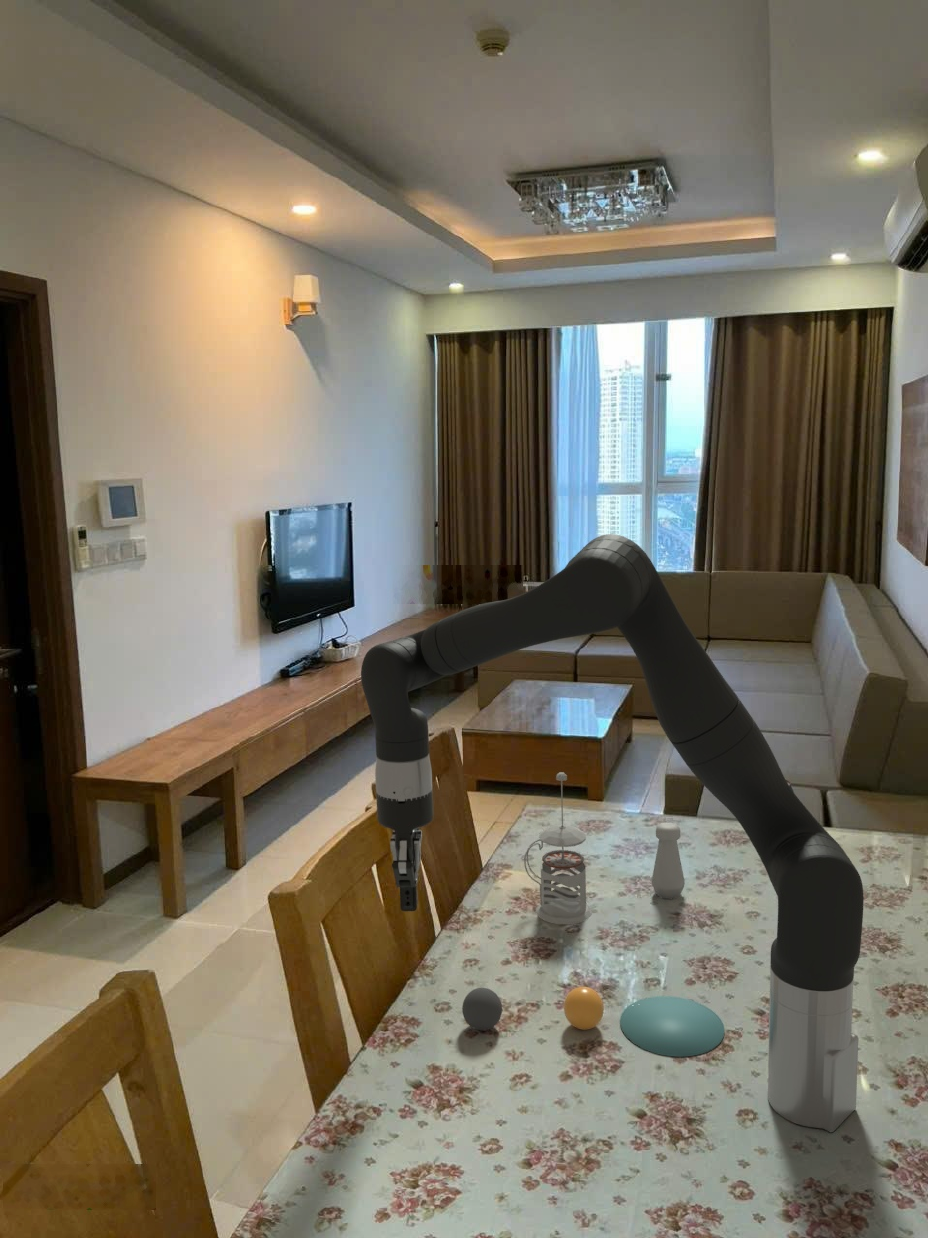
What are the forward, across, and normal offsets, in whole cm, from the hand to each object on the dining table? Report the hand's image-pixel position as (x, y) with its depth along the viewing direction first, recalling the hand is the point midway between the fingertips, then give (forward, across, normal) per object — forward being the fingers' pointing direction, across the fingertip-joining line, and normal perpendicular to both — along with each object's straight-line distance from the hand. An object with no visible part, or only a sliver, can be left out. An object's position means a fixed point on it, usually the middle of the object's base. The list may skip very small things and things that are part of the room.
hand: (409, 908), depth 131 cm
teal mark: (+18, 0, +36) cm, 40 cm away
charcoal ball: (+15, 0, +10) cm, 18 cm away
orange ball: (+15, 0, +24) cm, 28 cm away
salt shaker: (+18, -40, +42) cm, 61 cm away
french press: (+18, -35, +22) cm, 45 cm away
